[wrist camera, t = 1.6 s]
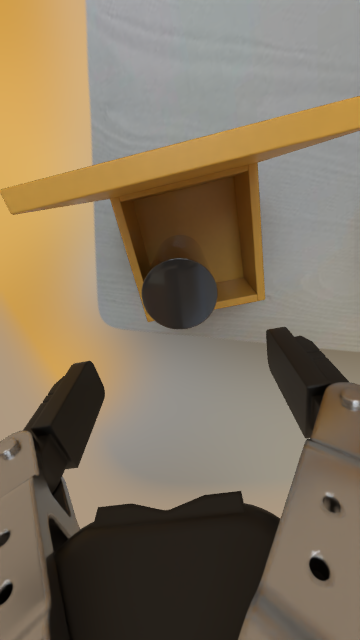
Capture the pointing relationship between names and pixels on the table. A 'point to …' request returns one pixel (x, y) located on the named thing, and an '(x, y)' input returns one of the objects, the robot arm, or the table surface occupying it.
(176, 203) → the chest
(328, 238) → the table surface
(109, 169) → the lid
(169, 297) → the dark grey cylinder
